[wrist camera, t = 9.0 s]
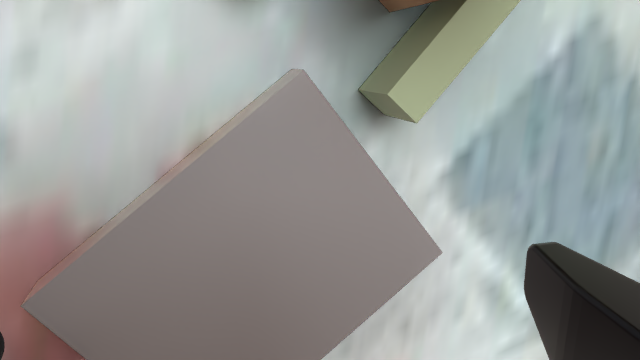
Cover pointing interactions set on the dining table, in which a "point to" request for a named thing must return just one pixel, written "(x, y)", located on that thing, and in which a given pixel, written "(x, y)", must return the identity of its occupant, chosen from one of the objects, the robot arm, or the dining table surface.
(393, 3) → the walnut card box
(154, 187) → the slate serving board
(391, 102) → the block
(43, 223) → the dining table surface
